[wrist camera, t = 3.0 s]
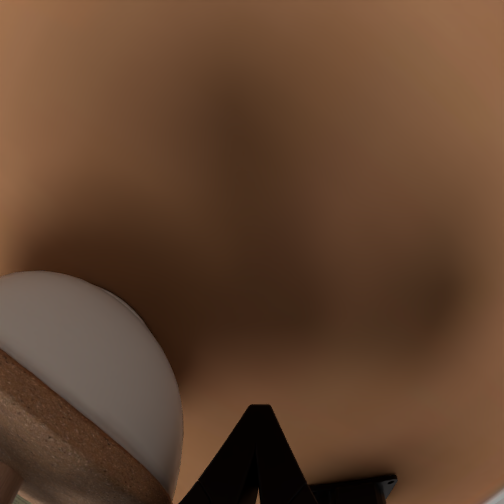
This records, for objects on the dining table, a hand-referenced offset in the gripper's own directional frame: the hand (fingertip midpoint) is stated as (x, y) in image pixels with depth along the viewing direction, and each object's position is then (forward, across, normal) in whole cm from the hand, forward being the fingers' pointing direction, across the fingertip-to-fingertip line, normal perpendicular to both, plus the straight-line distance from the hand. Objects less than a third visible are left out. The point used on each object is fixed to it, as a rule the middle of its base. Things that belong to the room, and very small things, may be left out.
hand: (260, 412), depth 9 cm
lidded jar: (+4, +8, 0) cm, 9 cm away
